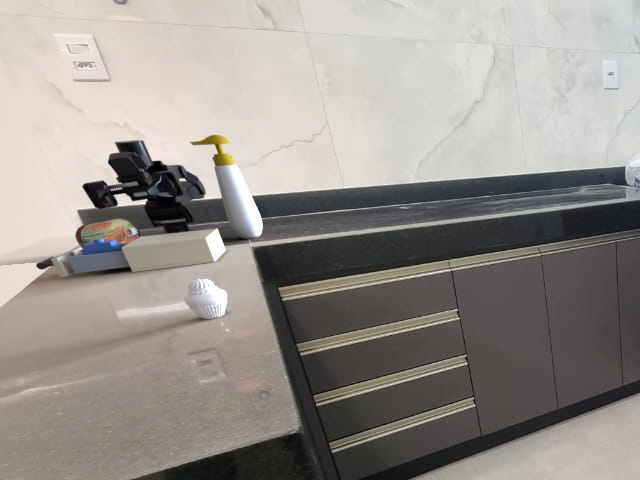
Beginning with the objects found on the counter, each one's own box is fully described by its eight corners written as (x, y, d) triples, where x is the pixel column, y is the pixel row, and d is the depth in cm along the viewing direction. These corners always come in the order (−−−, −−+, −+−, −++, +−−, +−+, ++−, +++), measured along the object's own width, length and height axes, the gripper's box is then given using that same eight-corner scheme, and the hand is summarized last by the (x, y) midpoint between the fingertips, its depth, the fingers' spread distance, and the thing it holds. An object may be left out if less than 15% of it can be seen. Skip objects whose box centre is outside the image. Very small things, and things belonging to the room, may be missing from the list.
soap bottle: (225, 237, 164) (187, 136, 151) (264, 232, 169) (230, 133, 157) (228, 244, 154) (187, 136, 142) (269, 237, 160) (233, 133, 147)
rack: (35, 280, 121) (25, 262, 119) (61, 267, 132) (52, 250, 130) (143, 266, 129) (135, 249, 127) (159, 255, 140) (152, 239, 138)
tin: (91, 256, 146) (75, 226, 142) (82, 256, 147) (66, 226, 143) (146, 244, 159) (133, 215, 156) (138, 244, 160) (125, 215, 156)
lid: (95, 261, 131) (84, 239, 129) (128, 257, 134) (117, 235, 131) (88, 265, 128) (76, 242, 125) (121, 261, 130) (111, 238, 128)
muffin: (184, 323, 93) (167, 285, 90) (204, 311, 98) (189, 275, 95) (223, 320, 93) (207, 282, 90) (240, 308, 99) (226, 272, 96)
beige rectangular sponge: (132, 272, 128) (120, 247, 125) (151, 259, 140) (140, 236, 137) (215, 261, 134) (205, 237, 132) (225, 250, 146) (217, 228, 144)
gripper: (80, 158, 132) (53, 168, 120) (169, 145, 138) (151, 154, 126) (108, 202, 138) (85, 216, 126) (191, 188, 144) (177, 201, 132)
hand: (124, 196), depth 127 cm, fingers open, 9 cm apart
